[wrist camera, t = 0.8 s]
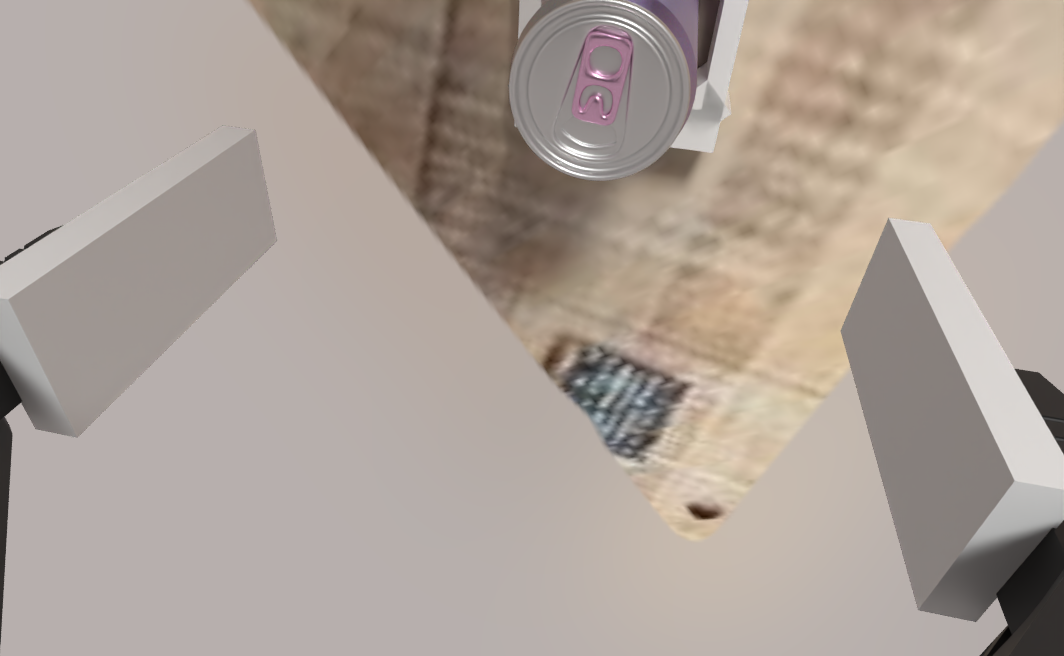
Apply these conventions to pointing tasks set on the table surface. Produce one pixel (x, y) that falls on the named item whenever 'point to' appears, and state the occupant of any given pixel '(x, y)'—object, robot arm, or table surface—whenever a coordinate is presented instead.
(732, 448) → the table surface
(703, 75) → the strip dock
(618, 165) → the beverage can
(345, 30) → the table surface
